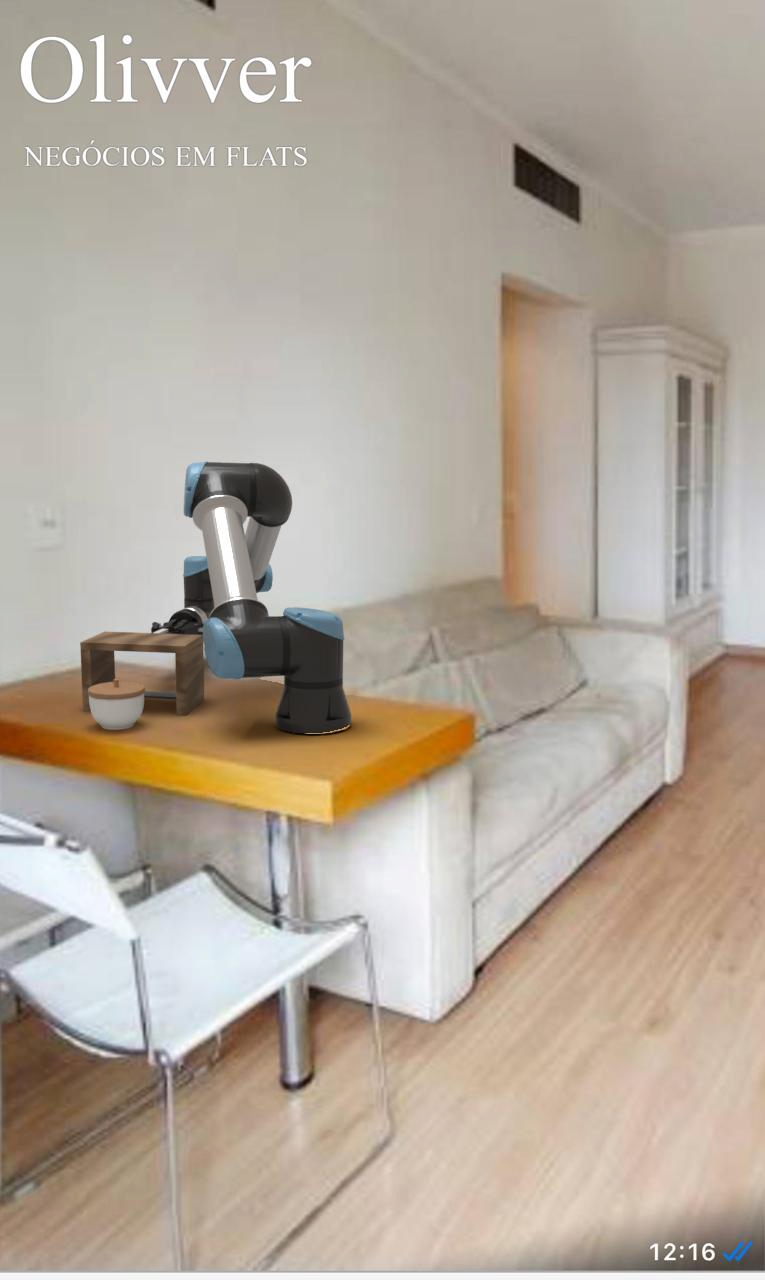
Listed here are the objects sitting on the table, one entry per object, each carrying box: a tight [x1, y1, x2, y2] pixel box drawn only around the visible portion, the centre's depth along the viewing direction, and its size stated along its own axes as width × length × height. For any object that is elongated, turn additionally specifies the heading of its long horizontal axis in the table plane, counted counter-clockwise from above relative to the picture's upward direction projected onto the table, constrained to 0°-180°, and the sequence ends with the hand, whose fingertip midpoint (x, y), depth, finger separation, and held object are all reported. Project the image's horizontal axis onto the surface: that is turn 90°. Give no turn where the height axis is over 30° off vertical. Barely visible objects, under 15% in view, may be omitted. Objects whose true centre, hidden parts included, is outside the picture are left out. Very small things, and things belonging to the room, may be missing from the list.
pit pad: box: [144, 690, 176, 700], centre depth 213 cm, size 18×4×1 cm, turn 84°
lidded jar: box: [88, 678, 146, 731], centre depth 188 cm, size 11×11×9 cm
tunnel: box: [79, 631, 205, 716], centre depth 204 cm, size 22×13×14 cm, turn 84°
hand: (155, 639), depth 211 cm, fingers closed
